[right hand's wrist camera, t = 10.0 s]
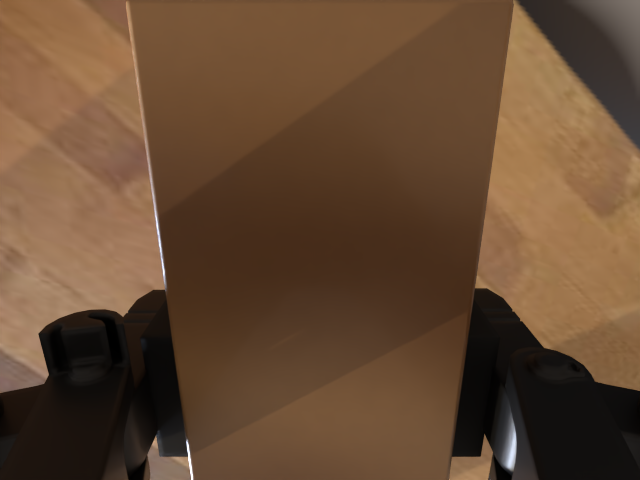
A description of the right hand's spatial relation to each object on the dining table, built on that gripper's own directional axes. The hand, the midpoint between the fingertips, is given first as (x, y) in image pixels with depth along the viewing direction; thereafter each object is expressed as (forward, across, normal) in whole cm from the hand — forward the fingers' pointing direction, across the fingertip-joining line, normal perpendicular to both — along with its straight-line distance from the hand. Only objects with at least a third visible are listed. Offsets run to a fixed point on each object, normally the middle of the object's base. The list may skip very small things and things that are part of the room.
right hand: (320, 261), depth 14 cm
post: (+1, 0, -22) cm, 22 cm away
